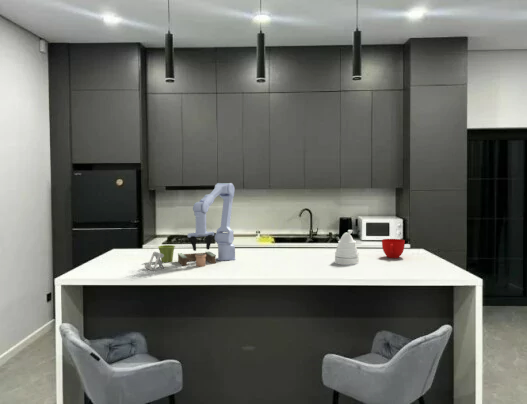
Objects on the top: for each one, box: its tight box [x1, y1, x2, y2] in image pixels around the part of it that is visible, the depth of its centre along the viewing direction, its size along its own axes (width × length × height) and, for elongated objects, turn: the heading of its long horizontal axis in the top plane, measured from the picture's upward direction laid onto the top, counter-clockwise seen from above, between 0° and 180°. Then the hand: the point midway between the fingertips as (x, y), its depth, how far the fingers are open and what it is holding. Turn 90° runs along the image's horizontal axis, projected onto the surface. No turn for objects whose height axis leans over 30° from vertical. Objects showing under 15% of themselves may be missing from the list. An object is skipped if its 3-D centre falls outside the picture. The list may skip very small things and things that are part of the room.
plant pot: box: [157, 244, 176, 263], centre depth 255 cm, size 9×9×9 cm
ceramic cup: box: [381, 238, 406, 259], centre depth 264 cm, size 13×17×10 cm
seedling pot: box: [195, 254, 207, 268], centre depth 242 cm, size 6×6×6 cm
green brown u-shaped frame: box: [177, 250, 217, 266], centre depth 252 cm, size 18×14×5 cm
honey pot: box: [334, 229, 359, 266], centre depth 249 cm, size 13×13×18 cm
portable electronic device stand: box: [144, 251, 165, 272], centre depth 234 cm, size 9×8×8 cm
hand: (201, 249), depth 241 cm, fingers open, 7 cm apart
